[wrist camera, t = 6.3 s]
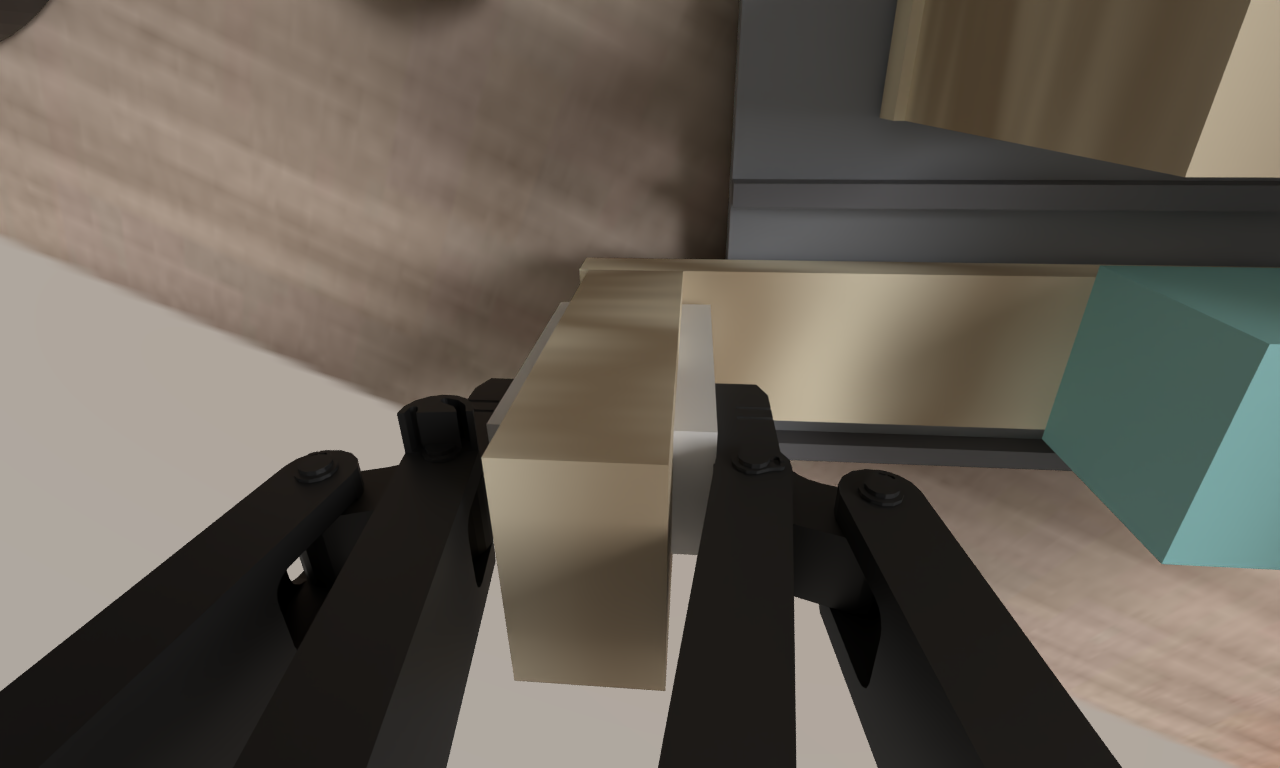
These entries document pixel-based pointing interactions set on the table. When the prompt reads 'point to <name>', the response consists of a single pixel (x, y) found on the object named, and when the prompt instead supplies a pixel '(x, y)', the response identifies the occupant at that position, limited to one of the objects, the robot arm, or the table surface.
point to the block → (1179, 410)
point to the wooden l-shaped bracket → (743, 354)
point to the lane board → (939, 202)
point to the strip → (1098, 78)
